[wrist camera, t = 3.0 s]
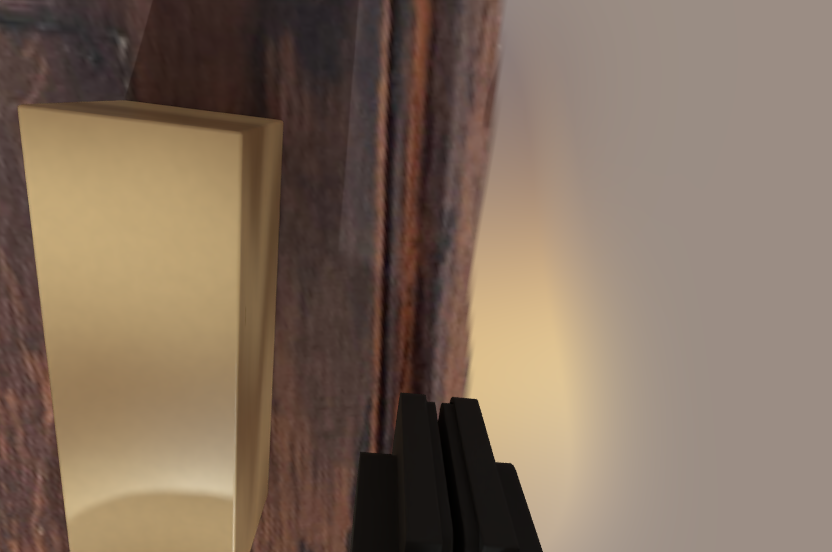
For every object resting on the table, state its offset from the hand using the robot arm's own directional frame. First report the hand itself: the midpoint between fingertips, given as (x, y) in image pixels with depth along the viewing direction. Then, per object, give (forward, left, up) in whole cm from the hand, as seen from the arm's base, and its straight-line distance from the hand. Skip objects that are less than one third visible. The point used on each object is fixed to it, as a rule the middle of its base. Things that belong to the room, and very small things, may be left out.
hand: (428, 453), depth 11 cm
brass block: (0, -6, -5) cm, 8 cm away
